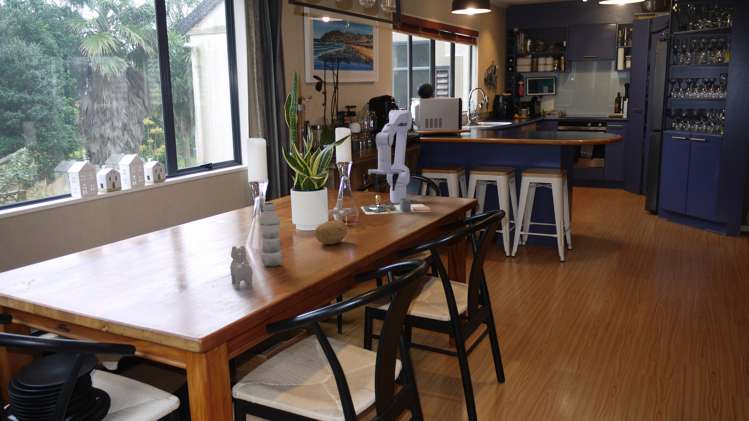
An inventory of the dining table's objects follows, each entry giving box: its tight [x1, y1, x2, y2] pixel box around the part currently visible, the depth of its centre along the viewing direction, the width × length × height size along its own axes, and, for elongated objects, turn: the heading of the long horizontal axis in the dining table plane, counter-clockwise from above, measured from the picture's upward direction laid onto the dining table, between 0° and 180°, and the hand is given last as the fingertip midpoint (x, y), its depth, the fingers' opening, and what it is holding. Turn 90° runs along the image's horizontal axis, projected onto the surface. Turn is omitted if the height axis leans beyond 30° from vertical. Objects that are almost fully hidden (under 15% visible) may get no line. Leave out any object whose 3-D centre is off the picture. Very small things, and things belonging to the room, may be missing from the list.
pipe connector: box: [327, 198, 353, 221], centre depth 253 cm, size 10×10×10 cm
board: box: [360, 203, 432, 215], centre depth 276 cm, size 17×29×2 cm, turn 100°
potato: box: [314, 219, 348, 246], centre depth 221 cm, size 10×14×8 cm
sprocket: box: [363, 194, 396, 214], centre depth 274 cm, size 14×14×6 cm
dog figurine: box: [229, 245, 254, 291], centre depth 177 cm, size 5×13×11 cm, turn 23°
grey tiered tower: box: [258, 202, 283, 267], centre depth 194 cm, size 6×7×20 cm
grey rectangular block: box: [399, 197, 412, 213], centre depth 271 cm, size 6×4×5 cm, turn 10°
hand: (384, 190), depth 273 cm, fingers open, 7 cm apart
